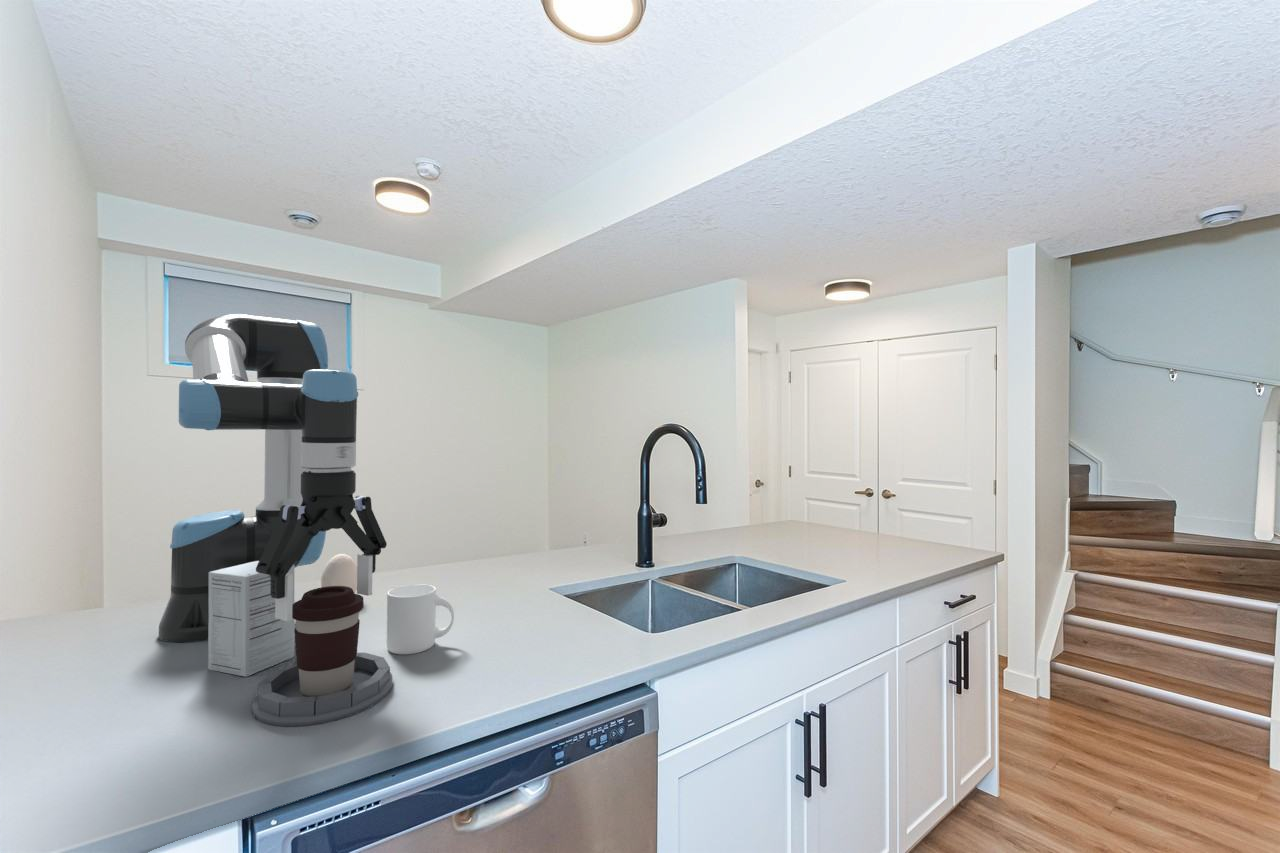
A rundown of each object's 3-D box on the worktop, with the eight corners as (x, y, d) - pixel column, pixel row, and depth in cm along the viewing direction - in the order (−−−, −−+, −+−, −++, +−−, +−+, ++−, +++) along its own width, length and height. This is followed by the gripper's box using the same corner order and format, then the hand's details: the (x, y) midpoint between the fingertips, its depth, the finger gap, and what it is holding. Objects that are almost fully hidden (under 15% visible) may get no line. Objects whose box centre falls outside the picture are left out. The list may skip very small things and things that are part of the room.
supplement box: (296, 657, 103) (297, 563, 103) (246, 678, 94) (247, 576, 94) (257, 649, 106) (258, 559, 106) (205, 669, 97) (206, 570, 97)
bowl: (223, 707, 84) (223, 687, 84) (339, 660, 101) (339, 643, 101) (308, 739, 76) (308, 716, 76) (418, 682, 93) (418, 664, 93)
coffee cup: (309, 674, 93) (310, 583, 93) (372, 673, 94) (373, 582, 94) (276, 703, 84) (277, 601, 84) (346, 702, 84) (347, 600, 84)
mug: (450, 653, 106) (451, 595, 105) (381, 657, 103) (381, 597, 103) (456, 636, 114) (457, 582, 114) (392, 639, 112) (393, 584, 112)
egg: (353, 595, 140) (353, 548, 140) (363, 602, 134) (364, 554, 134) (316, 601, 134) (317, 553, 134) (326, 610, 129) (326, 559, 129)
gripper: (261, 477, 76) (259, 636, 76) (409, 465, 98) (407, 588, 99) (228, 474, 79) (226, 626, 79) (379, 463, 102) (377, 582, 102)
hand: (326, 605), depth 89 cm, fingers open, 13 cm apart
